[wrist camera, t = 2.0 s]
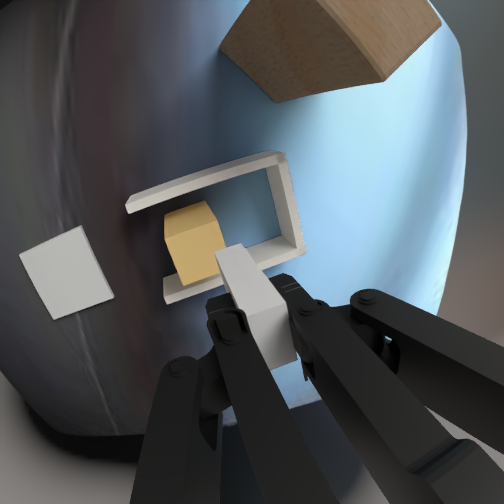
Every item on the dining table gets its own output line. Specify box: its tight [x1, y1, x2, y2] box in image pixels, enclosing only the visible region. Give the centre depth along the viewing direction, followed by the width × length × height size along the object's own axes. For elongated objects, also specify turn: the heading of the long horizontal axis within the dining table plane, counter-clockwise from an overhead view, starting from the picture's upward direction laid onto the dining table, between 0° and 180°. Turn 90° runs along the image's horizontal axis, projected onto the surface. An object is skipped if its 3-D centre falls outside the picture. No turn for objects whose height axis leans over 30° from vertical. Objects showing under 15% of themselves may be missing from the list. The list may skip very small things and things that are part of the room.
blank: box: [164, 200, 226, 286], centre depth 32 cm, size 5×5×9 cm
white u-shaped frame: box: [125, 150, 306, 304], centre depth 34 cm, size 12×17×5 cm
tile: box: [19, 225, 114, 319], centre depth 33 cm, size 10×10×1 cm
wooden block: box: [219, 0, 442, 103], centre depth 22 cm, size 10×10×20 cm
